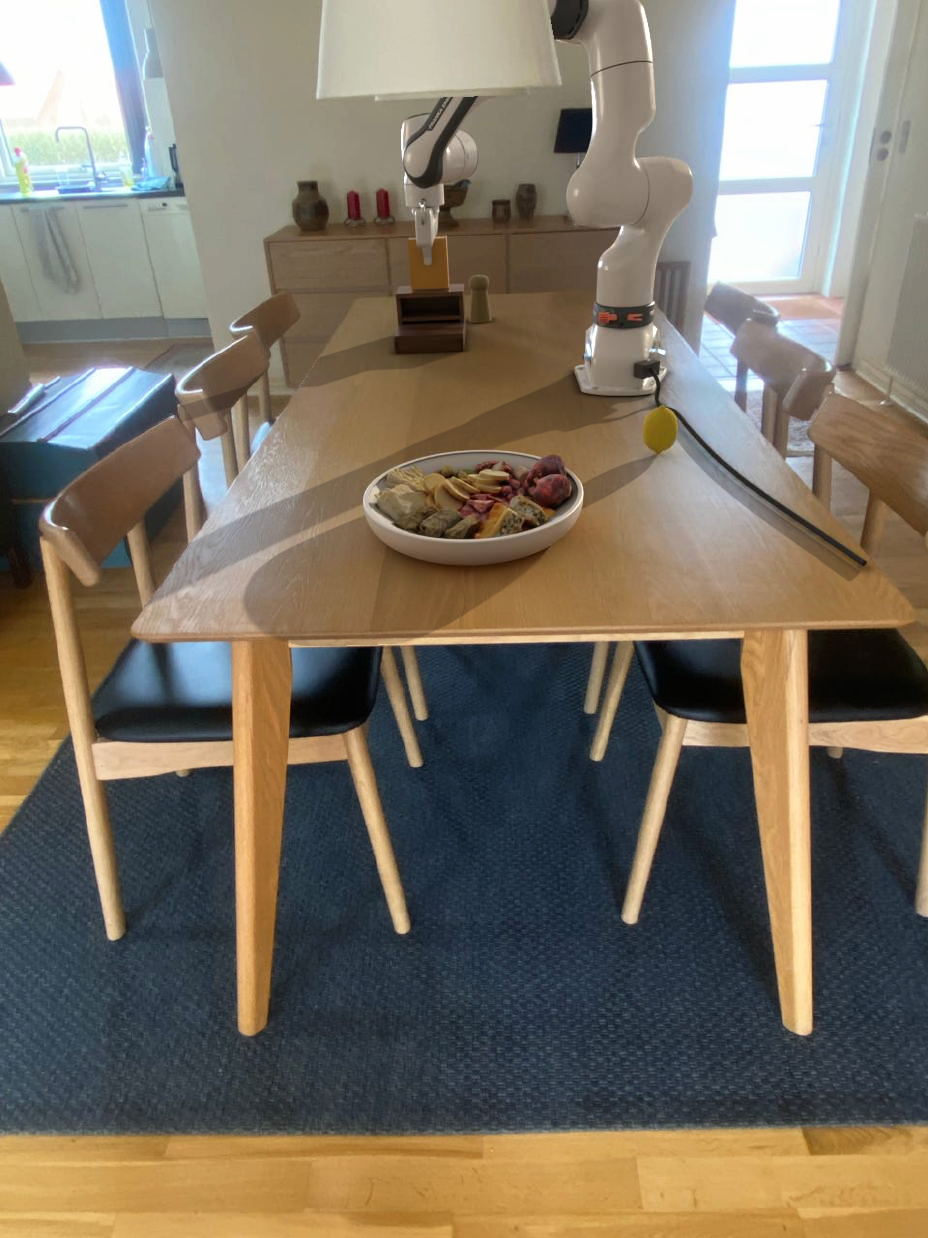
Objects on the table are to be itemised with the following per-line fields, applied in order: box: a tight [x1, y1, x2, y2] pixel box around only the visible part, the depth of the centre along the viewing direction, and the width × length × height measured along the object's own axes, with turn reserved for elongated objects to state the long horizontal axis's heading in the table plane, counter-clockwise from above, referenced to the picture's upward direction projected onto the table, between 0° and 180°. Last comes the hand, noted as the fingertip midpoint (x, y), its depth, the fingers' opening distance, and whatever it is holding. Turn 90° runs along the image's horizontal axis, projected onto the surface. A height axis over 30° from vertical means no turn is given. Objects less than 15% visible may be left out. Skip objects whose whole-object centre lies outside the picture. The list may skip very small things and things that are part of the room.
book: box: [406, 234, 450, 290], centre depth 194 cm, size 4×9×11 cm, turn 88°
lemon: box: [642, 404, 679, 455], centre depth 131 cm, size 6×6×8 cm
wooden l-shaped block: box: [393, 283, 467, 355], centre depth 196 cm, size 20×16×11 cm
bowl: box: [362, 449, 584, 566], centre depth 113 cm, size 30×30×8 cm
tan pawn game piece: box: [468, 274, 493, 324], centre depth 212 cm, size 6×6×11 cm
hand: (428, 262), depth 194 cm, fingers closed on book, 4 cm apart
